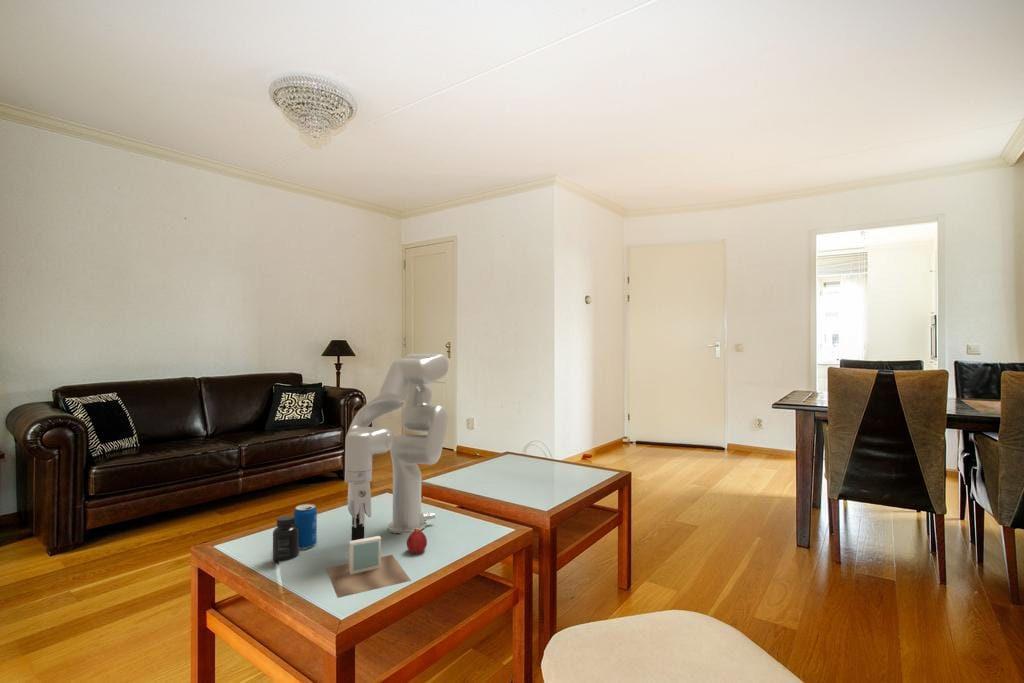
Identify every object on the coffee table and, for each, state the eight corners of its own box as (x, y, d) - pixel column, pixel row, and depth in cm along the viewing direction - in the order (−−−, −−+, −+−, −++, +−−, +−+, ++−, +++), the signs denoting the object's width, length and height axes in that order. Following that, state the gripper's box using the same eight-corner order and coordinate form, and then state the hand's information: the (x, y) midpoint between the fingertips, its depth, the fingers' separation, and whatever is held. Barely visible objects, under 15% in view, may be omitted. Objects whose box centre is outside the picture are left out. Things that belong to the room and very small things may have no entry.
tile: (379, 564, 134) (379, 535, 134) (381, 568, 132) (381, 538, 132) (348, 571, 130) (349, 541, 130) (350, 574, 128) (350, 544, 128)
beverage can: (308, 551, 146) (308, 510, 146) (288, 549, 147) (289, 509, 147) (320, 542, 152) (321, 504, 152) (302, 541, 153) (302, 502, 153)
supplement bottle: (304, 556, 142) (304, 515, 142) (286, 566, 135) (286, 523, 135) (285, 553, 144) (285, 512, 144) (266, 563, 137) (267, 520, 138)
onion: (409, 551, 146) (409, 524, 146) (428, 551, 146) (428, 524, 146) (404, 559, 140) (404, 531, 140) (424, 559, 140) (424, 531, 140)
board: (392, 558, 140) (392, 554, 140) (411, 585, 125) (411, 580, 125) (326, 572, 132) (326, 568, 132) (337, 602, 116) (337, 597, 116)
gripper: (378, 479, 134) (377, 546, 134) (366, 468, 147) (365, 529, 147) (350, 483, 131) (349, 552, 130) (340, 471, 144) (339, 533, 143)
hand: (357, 539), depth 139 cm, fingers closed
